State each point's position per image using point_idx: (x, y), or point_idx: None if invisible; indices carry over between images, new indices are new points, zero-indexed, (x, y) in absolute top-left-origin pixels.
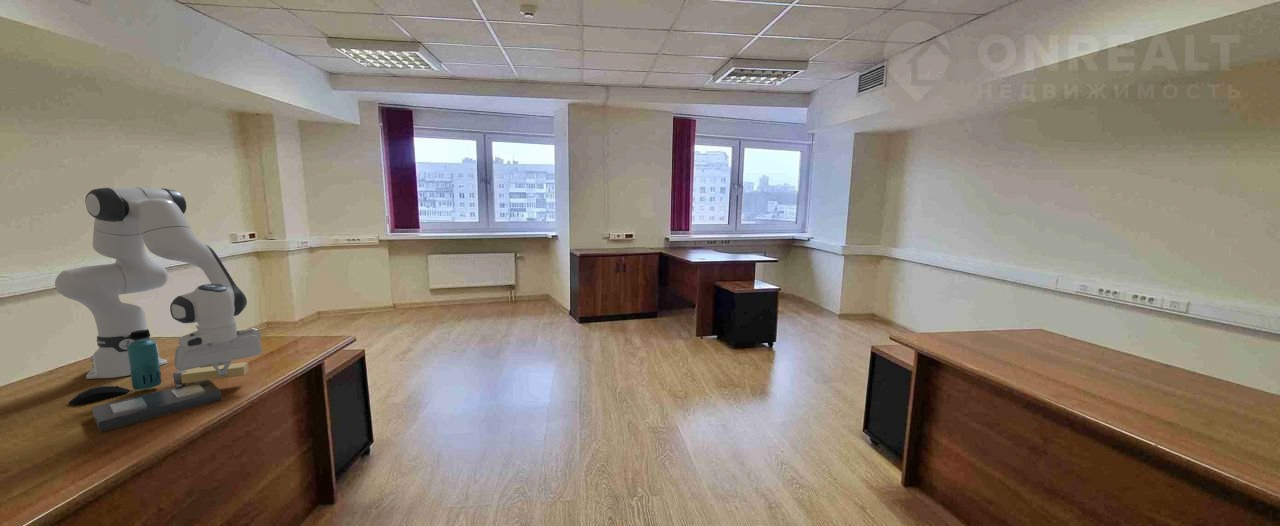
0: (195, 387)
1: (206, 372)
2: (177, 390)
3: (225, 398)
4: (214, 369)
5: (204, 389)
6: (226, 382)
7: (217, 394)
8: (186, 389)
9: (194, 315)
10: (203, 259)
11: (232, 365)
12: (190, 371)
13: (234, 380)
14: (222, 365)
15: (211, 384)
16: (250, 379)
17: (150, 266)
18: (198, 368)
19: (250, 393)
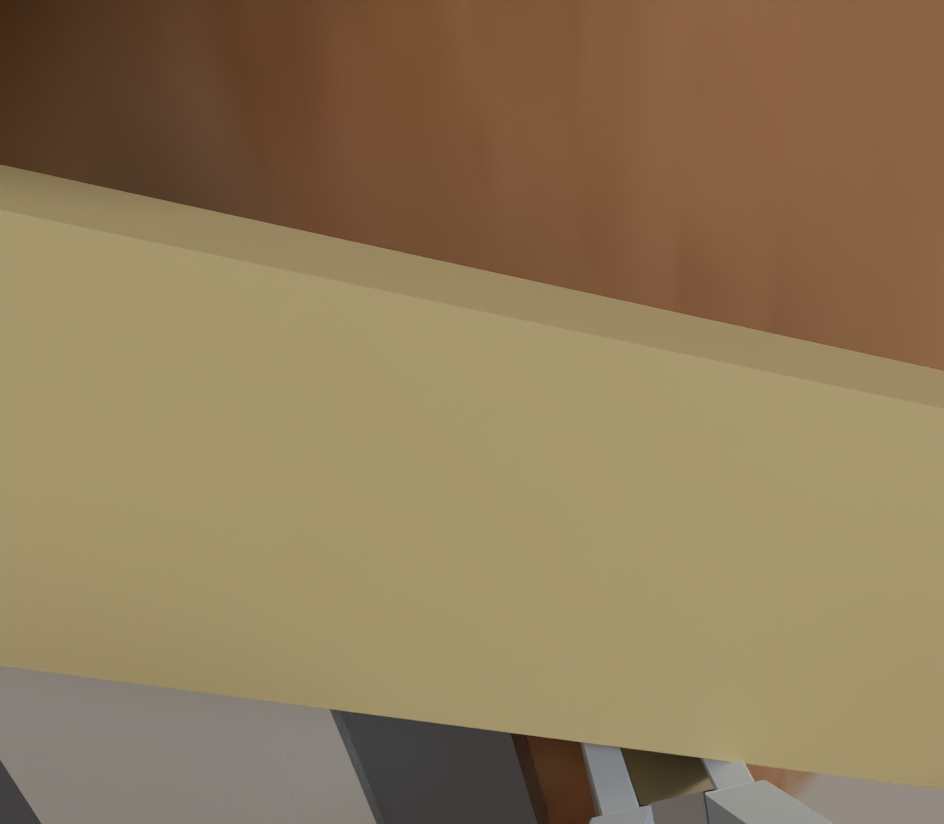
0: (265, 714)
1: (389, 697)
2: (39, 711)
3: (578, 788)
4: (543, 663)
5: (388, 789)
6: (609, 150)
7: None
8: (160, 738)
9: None
10: None
11: (914, 564)
12: (1, 503)
13: (717, 118)
14: (723, 418)
15: None
16: (907, 237)
17: None
18: (142, 320)
19: (795, 780)
